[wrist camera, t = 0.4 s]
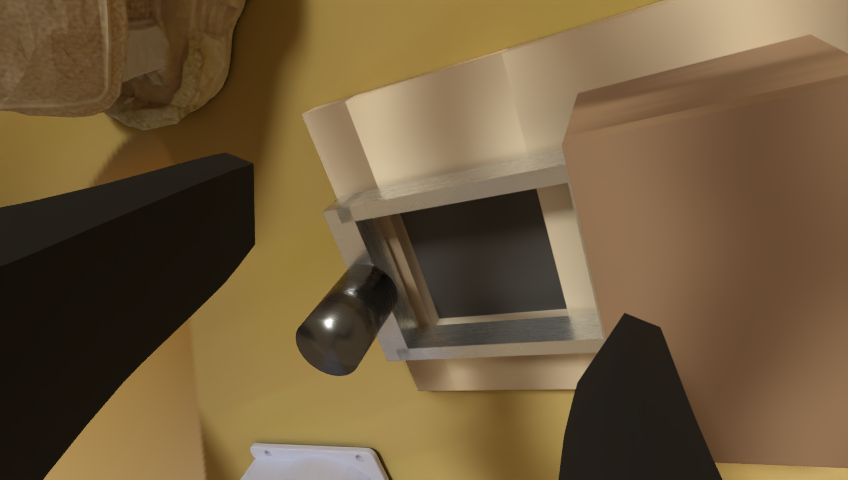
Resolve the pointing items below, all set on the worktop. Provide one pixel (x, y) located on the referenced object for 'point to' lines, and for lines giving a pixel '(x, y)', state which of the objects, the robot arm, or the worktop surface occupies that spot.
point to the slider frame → (385, 294)
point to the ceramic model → (114, 57)
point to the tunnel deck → (523, 129)
